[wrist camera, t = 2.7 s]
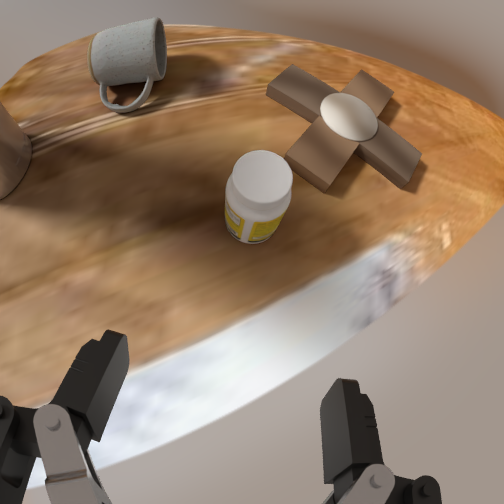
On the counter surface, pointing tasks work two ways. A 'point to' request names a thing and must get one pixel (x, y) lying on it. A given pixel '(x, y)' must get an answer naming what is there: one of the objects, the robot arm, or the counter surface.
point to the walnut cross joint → (342, 128)
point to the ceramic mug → (128, 58)
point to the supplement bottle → (257, 196)
